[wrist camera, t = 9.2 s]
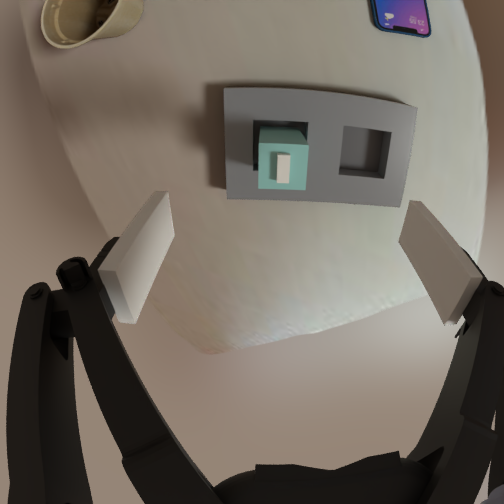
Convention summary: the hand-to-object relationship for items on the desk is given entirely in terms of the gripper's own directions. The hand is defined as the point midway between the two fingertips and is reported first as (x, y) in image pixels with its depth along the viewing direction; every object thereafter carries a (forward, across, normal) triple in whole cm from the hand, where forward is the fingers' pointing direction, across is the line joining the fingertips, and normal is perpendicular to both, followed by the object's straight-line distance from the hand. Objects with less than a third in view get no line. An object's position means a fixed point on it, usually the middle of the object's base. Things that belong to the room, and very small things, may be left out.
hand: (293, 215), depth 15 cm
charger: (+18, 0, -1) cm, 18 cm away
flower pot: (+18, -18, +17) cm, 30 cm away
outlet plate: (+18, +4, 0) cm, 18 cm away
